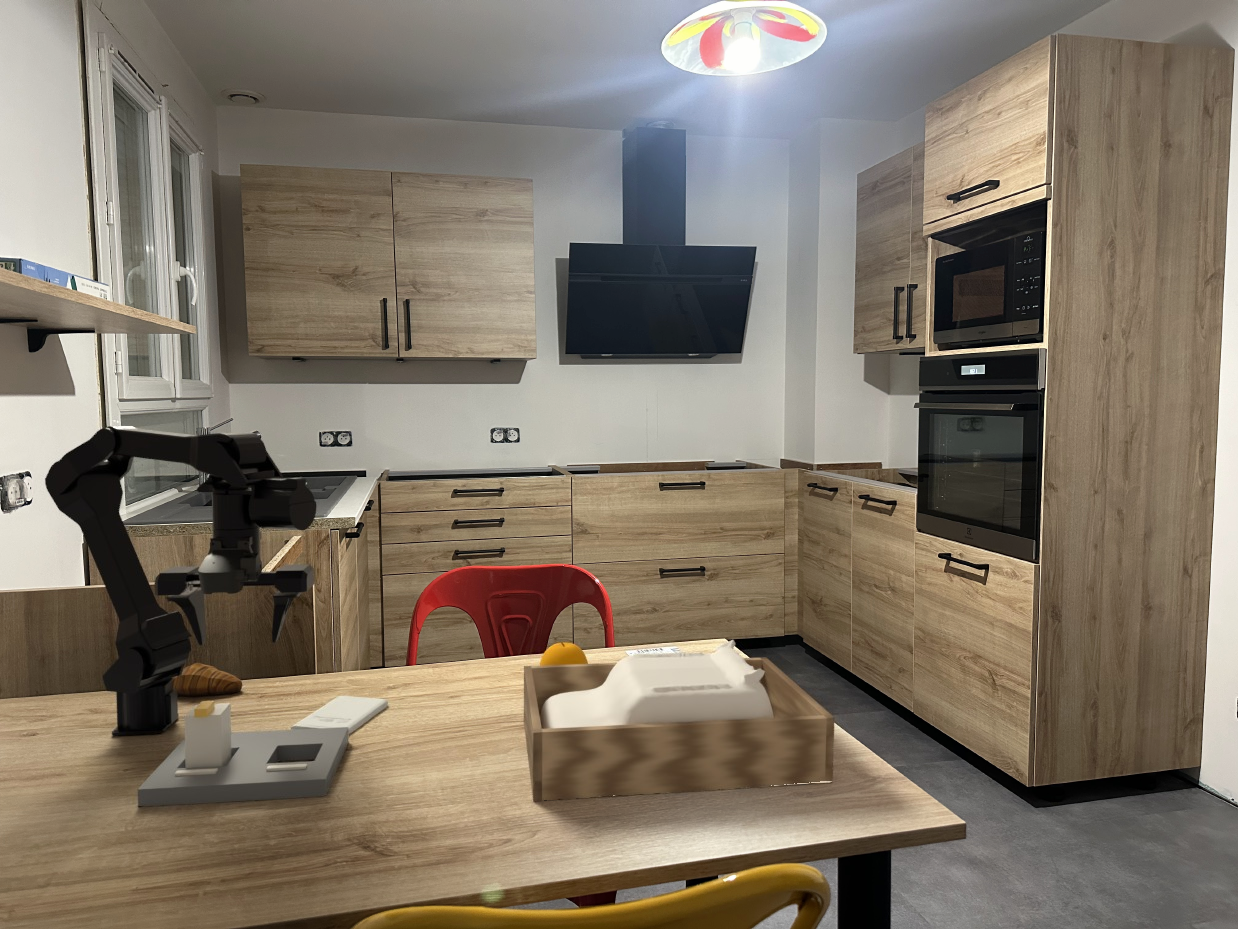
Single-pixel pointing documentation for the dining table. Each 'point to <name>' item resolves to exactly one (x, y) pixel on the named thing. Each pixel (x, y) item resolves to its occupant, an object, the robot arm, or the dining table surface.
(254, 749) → the panel
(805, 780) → the wooden crate
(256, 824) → the dining table surface
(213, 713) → the plug
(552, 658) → the apple
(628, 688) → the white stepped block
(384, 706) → the external hard drive
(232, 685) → the croissant
